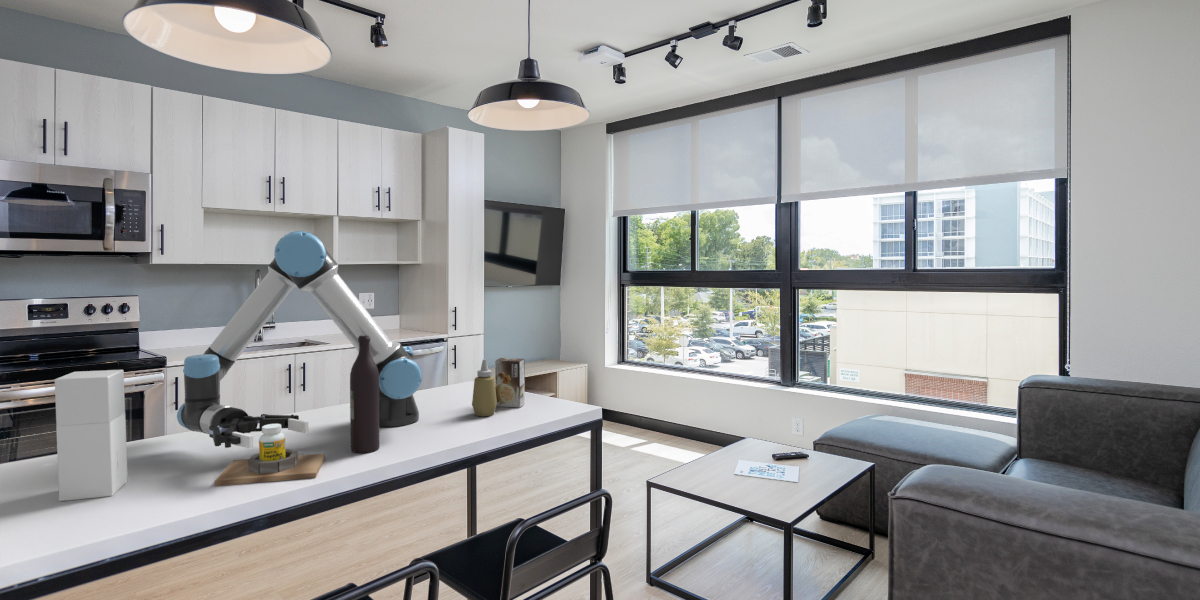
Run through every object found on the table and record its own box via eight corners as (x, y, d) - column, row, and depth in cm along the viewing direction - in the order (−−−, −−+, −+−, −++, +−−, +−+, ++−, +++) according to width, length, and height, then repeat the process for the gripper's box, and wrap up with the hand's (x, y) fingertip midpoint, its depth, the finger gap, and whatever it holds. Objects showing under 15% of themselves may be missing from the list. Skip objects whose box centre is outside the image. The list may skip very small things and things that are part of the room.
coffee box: (525, 403, 210) (525, 358, 209) (520, 407, 203) (520, 361, 202) (500, 402, 211) (500, 357, 210) (494, 406, 205) (494, 360, 204)
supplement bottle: (284, 460, 143) (283, 421, 142) (287, 467, 138) (286, 426, 138) (258, 464, 140) (257, 424, 139) (260, 471, 135) (259, 430, 135)
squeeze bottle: (494, 417, 190) (494, 361, 189) (469, 417, 190) (469, 361, 189) (499, 411, 198) (499, 357, 197) (474, 411, 198) (474, 357, 197)
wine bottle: (366, 443, 161) (365, 333, 159) (385, 447, 158) (384, 335, 156) (344, 451, 155) (343, 336, 153) (364, 455, 152) (363, 338, 150)
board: (324, 458, 149) (324, 444, 149) (315, 477, 136) (315, 462, 135) (234, 464, 143) (233, 450, 143) (215, 486, 130) (214, 469, 129)
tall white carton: (112, 496, 123) (108, 376, 122) (58, 501, 120) (53, 379, 118) (128, 481, 131) (124, 369, 130) (78, 486, 128) (73, 371, 127)
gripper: (273, 425, 159) (327, 437, 149) (170, 450, 136) (225, 466, 127) (273, 397, 158) (327, 407, 148) (169, 418, 136) (224, 431, 126)
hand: (280, 434), depth 137 cm, fingers open, 13 cm apart
